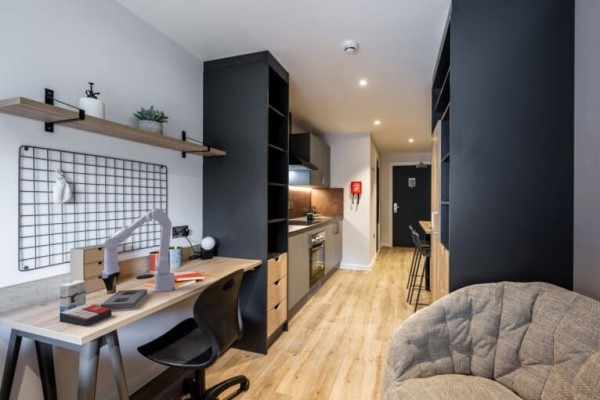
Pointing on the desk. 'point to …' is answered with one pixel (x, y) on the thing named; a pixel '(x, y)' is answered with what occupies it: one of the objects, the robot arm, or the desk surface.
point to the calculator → (85, 315)
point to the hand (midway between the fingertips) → (111, 288)
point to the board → (125, 300)
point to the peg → (113, 288)
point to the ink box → (72, 295)
